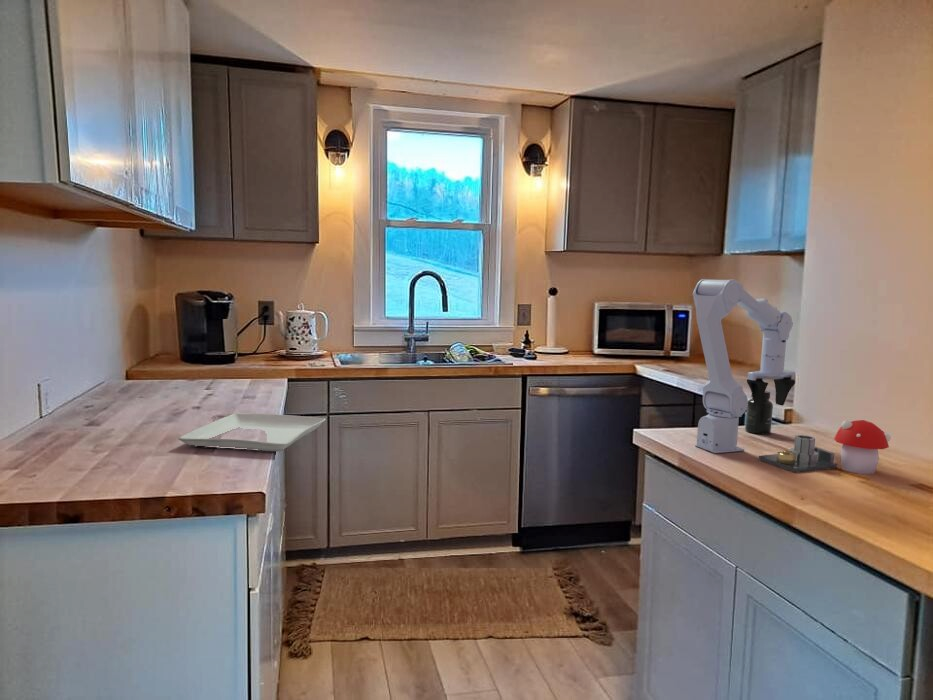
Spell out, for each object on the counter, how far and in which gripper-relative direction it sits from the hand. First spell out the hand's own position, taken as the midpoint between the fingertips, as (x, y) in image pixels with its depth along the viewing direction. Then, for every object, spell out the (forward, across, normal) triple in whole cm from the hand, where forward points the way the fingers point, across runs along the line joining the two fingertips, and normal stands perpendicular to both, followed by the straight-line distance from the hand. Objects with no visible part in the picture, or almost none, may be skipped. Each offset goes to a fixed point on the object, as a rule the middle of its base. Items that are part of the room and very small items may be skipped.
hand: (768, 405), depth 171 cm
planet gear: (+9, -8, -20) cm, 23 cm away
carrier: (+10, -10, -19) cm, 24 cm away
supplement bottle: (+10, +6, +9) cm, 15 cm away
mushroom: (+10, 0, -27) cm, 29 cm away
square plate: (+10, -131, +36) cm, 137 cm away
